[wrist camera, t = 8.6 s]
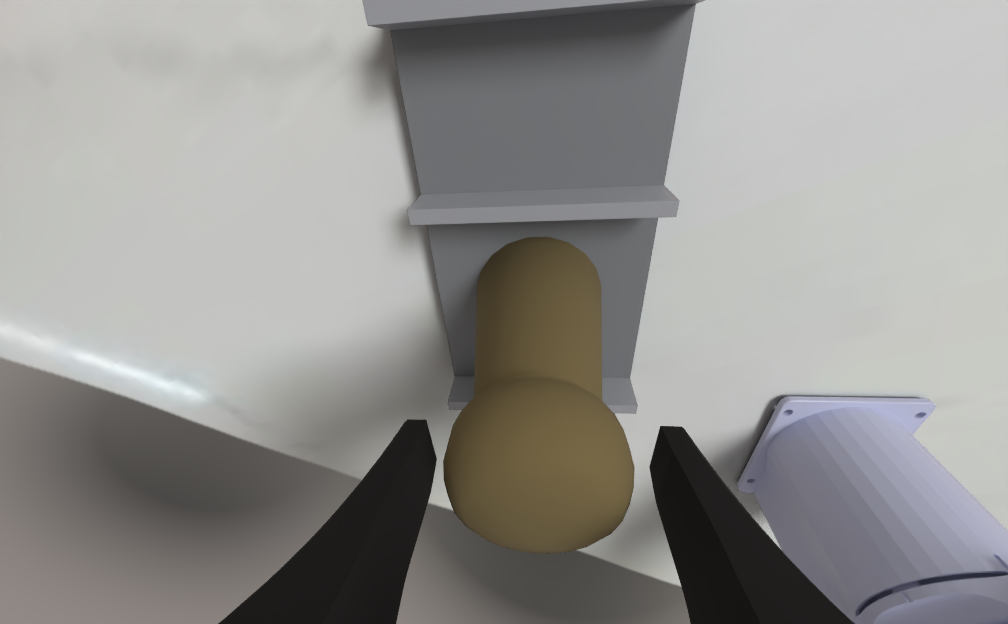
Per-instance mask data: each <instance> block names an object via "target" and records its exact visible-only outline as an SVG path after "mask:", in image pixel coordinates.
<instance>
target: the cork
mask: <svg viewBox="0 0 1008 624" xmlns="http://www.w3.org/2000/svg"><path fill="white" fill-rule="evenodd" d="M443 464H444V482H445V486H446V490H447V494H448V497H449V500H450V502H451V505H452V508H453V510H454V513H455V514H456V515H457V516H458V518H459V519H460V520H461V521H462V522H463V524H464V525H465V526H466V527H468V528H469V529H471V530H472V531H474V532H475V533H477V534H478V535H480V536H481V537H483V538H484V539H486V540H487V541H489V542H492V543H494V544H497V545H500V546H502V547H505V548H508V549H513V550H518V551H523V552H529V553H546V554H549V553H560V552H569V551H573V550H577V549H581V548H584V547H587V546H589V545H591V544H593V543H595V542H597V541H599V540H600V539H602V538H604V537H606V536H608V535H610V534H611V533H612V532H613V531H614V530H615V529H616V528H617V527H618V526H619V524H620V523H621V522H622V521H623V519H624V516H625V514H626V512H627V509H628V507H629V505H630V501H631V496H632V492H633V488H634V464H633V460H632V456H631V452H630V448H629V445H628V442H627V439H626V436H625V433H624V430H623V428H622V426H621V425H620V423H619V421H618V419H617V418H616V416H615V414H614V413H613V412H612V411H611V410H610V409H609V407H608V406H607V405H606V404H605V403H604V402H603V401H602V313H601V283H600V279H599V276H598V272H597V269H596V267H595V266H594V264H593V263H592V262H591V260H590V259H589V258H588V256H587V255H586V254H585V253H584V252H582V251H581V250H579V249H578V248H576V247H575V246H573V245H572V244H570V243H569V242H565V241H562V240H558V239H555V238H551V237H526V238H523V239H520V240H517V241H514V242H511V243H508V244H506V245H505V246H504V247H502V248H501V249H500V250H498V251H497V252H495V253H494V254H493V255H491V257H490V258H489V260H488V261H487V263H486V264H485V266H484V267H483V269H482V270H481V273H480V277H479V281H478V285H477V309H476V345H475V382H474V397H473V398H472V399H471V401H470V402H469V403H468V404H467V405H466V406H465V407H464V408H463V410H462V411H461V413H460V414H459V416H458V418H457V419H456V421H455V423H454V424H453V427H452V431H451V434H450V438H449V441H448V445H447V449H446V453H445V457H444V460H443Z"/></svg>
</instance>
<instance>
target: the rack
mask: <svg viewBox="0 0 1008 624" xmlns="http://www.w3.org/2000/svg"><path fill="white" fill-rule="evenodd" d="M362 1H363V6H364V10H365V15H366V20H367V24H368V26H372V27H377V28H381V29H386V30H390V31H391V37H392V42H393V47H394V53H395V58H396V64H397V69H398V74H399V80H400V85H401V90H402V96H403V101H404V107H405V112H406V117H407V123H408V128H409V133H410V139H411V144H412V149H413V155H414V160H415V166H416V171H417V176H418V182H419V187H420V192H421V195H420V196H419V197H418V199H417V200H416V201H415V202H414V203H413V204H412V205H411V206H410V207H409V208H408V210H407V213H408V218H409V222H410V225H427V230H428V235H429V241H430V246H431V251H432V257H433V262H434V268H435V273H436V278H437V284H438V289H439V294H440V300H441V305H442V311H443V316H444V321H445V327H446V332H447V337H448V343H449V348H450V353H451V359H452V364H453V370H454V375H455V377H454V381H453V384H452V388H451V392H450V395H449V399H448V406H449V410H463V408H464V407H465V406H466V405H467V404H468V403H469V402H470V401H471V399H472V398H473V397H474V382H475V345H476V309H477V285H478V281H479V277H480V273H481V270H482V269H483V267H484V266H485V264H486V263H487V261H488V260H489V258H490V257H491V255H493V254H494V253H495V252H497V251H498V250H500V249H501V248H502V247H504V246H505V245H506V244H508V243H511V242H514V241H517V240H520V239H523V238H526V237H551V238H555V239H558V240H562V241H565V242H569V243H570V244H572V245H573V246H575V247H576V248H578V249H579V250H581V251H582V252H584V253H585V254H586V255H587V256H588V258H589V259H590V260H591V262H592V263H593V264H594V266H595V267H596V269H597V272H598V276H599V279H600V283H601V313H602V401H603V402H604V403H605V404H606V405H607V406H608V407H609V409H610V410H611V411H612V412H613V413H630V414H636V411H637V406H638V405H637V402H636V398H635V395H634V391H633V388H632V384H631V381H630V374H631V369H632V363H633V357H634V352H635V346H636V340H637V335H638V329H639V323H640V318H641V312H642V306H643V300H644V295H645V289H646V283H647V278H648V272H649V266H650V261H651V255H652V249H653V244H654V238H655V232H656V227H657V221H658V218H659V217H676V215H677V210H678V205H679V200H678V199H677V198H676V197H675V196H674V195H673V194H672V193H671V192H670V191H669V190H668V189H667V188H666V187H665V186H664V181H665V176H666V170H667V164H668V158H669V153H670V147H671V141H672V136H673V130H674V124H675V119H676V113H677V107H678V102H679V96H680V90H681V85H682V79H683V73H684V68H685V62H686V56H687V51H688V45H689V39H690V33H691V28H692V22H693V16H694V11H695V5H696V3H699V2H702V1H704V0H362Z"/></svg>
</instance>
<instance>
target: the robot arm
mask: <svg viewBox="0 0 1008 624" xmlns="http://www.w3.org/2000/svg"><path fill="white" fill-rule="evenodd" d="M935 407H936V405H935V404H934V403H933V402H932V401H931V400H929V399H925V398H865V397H804V396H788V397H784V398H783V399H781V400H780V401H779V403H778V405H777V407H776V409H775V411H774V413H773V415H772V417H771V419H770V421H769V422H768V424H767V426H766V428H765V430H764V432H763V434H762V436H761V438H760V440H759V442H758V444H757V446H756V448H755V450H754V452H753V454H752V456H751V458H750V460H749V462H748V464H747V466H746V468H745V469H744V471H743V473H742V475H741V477H740V479H739V481H738V483H737V487H738V489H739V491H741V492H744V493H754V495H755V497H756V499H757V501H758V503H759V505H760V507H761V509H762V511H763V513H764V515H765V517H766V519H767V521H768V523H769V525H770V527H771V529H772V531H773V533H774V535H775V537H776V539H777V541H778V543H779V546H780V548H781V549H780V548H779V547H778V546H777V545H776V544H775V543H774V542H773V540H772V539H771V538H770V537H769V536H768V535H767V534H766V533H765V531H764V530H763V529H762V528H761V527H760V526H759V524H758V523H757V522H756V521H755V520H754V519H753V518H752V516H751V515H750V514H749V513H748V512H747V510H746V509H745V508H744V507H743V506H742V504H741V503H740V502H739V501H738V499H737V498H736V497H735V496H734V494H733V493H732V492H731V491H730V490H729V488H728V487H727V486H726V485H725V483H724V482H723V481H722V479H721V478H720V477H719V476H718V474H717V473H716V472H715V470H714V469H713V468H712V466H711V465H710V464H709V462H708V461H707V460H706V458H705V457H704V456H703V454H702V453H701V452H700V450H699V449H698V447H697V446H696V445H695V443H694V442H693V440H692V439H691V438H690V436H689V435H688V433H687V432H686V431H685V429H684V428H683V427H674V426H660V430H659V433H658V437H657V441H656V445H655V449H654V452H653V456H652V460H651V464H650V472H651V478H652V483H653V489H654V494H655V499H656V503H657V507H658V510H659V514H660V517H661V520H662V524H663V527H664V530H665V534H666V537H667V540H668V543H669V547H670V550H671V553H672V556H673V560H674V563H675V566H676V569H677V573H678V576H679V579H680V583H681V586H682V589H683V593H684V597H685V601H686V604H687V609H688V613H689V618H690V623H691V624H1008V530H1007V529H1006V528H1005V527H1004V526H1003V525H1002V524H1001V523H1000V522H999V521H998V520H997V519H996V518H995V517H994V516H993V515H992V514H991V513H990V512H989V511H988V510H987V509H986V508H985V507H984V506H983V505H982V504H981V503H980V502H979V501H978V500H977V499H976V498H975V497H974V496H973V495H972V494H971V493H970V492H969V491H968V490H967V489H966V488H965V487H964V486H963V485H962V484H961V483H960V482H959V481H958V480H957V479H956V478H955V477H954V476H953V475H952V474H951V473H950V472H949V471H948V470H947V469H946V468H945V467H944V466H943V465H942V464H941V463H940V462H939V461H938V460H937V459H936V458H935V457H934V456H933V455H932V454H931V453H930V452H929V451H928V450H927V449H926V448H925V447H924V446H923V445H922V444H921V443H920V442H919V441H918V440H917V439H916V438H915V437H914V436H913V434H914V433H915V431H916V430H917V429H918V428H919V427H920V426H921V424H922V423H923V422H924V421H925V420H926V419H927V418H928V416H929V415H930V414H931V413H932V412H933V411H934V409H935ZM436 460H437V458H436V455H435V451H434V447H433V444H432V440H431V436H430V432H429V429H428V425H427V421H426V420H407V421H405V423H404V424H403V426H402V427H401V428H400V430H399V431H398V433H397V434H396V436H395V437H394V438H393V440H392V441H391V443H390V444H389V445H388V447H387V448H386V449H385V451H384V452H383V454H382V455H381V456H380V458H379V459H378V460H377V462H376V463H375V464H374V465H373V467H372V468H371V469H370V471H369V472H368V473H367V474H366V476H365V477H364V478H363V480H362V481H361V482H360V484H359V485H358V486H357V487H356V488H355V490H354V491H353V492H352V493H351V494H350V495H349V497H348V498H347V499H346V500H345V501H344V503H343V504H342V505H341V506H340V507H339V508H338V510H337V511H336V512H335V513H334V514H333V515H332V516H331V517H330V519H329V520H328V521H327V522H326V523H325V524H324V525H323V526H322V527H321V529H320V530H319V531H318V532H317V533H316V534H315V535H314V536H313V537H312V538H311V539H310V540H309V541H308V542H307V543H306V544H305V545H304V546H303V547H302V548H301V549H300V550H299V551H298V552H297V553H296V554H295V555H294V556H293V557H292V558H291V559H290V560H289V561H288V562H287V563H286V564H285V565H284V566H283V567H282V568H281V569H280V570H279V571H278V572H277V573H276V574H274V575H273V576H272V577H271V578H270V579H269V580H268V581H267V582H266V583H265V584H264V585H262V586H261V587H260V588H259V589H258V590H257V591H256V592H255V593H253V594H252V595H251V596H250V597H249V598H248V599H247V600H245V601H244V602H243V603H242V604H241V605H240V606H239V607H237V608H236V609H235V610H234V611H233V612H232V613H230V614H229V615H228V616H227V617H226V618H225V619H224V620H222V621H221V622H220V623H219V624H396V621H397V615H398V611H399V606H400V601H401V597H402V591H403V587H404V583H405V579H406V575H407V571H408V567H409V564H410V561H411V557H412V554H413V551H414V547H415V544H416V540H417V537H418V534H419V530H420V527H421V524H422V520H423V517H424V513H425V510H426V507H427V503H428V500H429V496H430V493H431V488H432V483H433V478H434V472H435V466H436Z"/></svg>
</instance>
